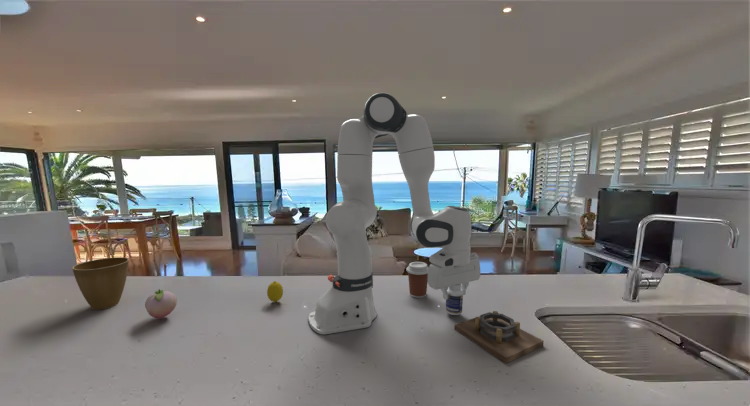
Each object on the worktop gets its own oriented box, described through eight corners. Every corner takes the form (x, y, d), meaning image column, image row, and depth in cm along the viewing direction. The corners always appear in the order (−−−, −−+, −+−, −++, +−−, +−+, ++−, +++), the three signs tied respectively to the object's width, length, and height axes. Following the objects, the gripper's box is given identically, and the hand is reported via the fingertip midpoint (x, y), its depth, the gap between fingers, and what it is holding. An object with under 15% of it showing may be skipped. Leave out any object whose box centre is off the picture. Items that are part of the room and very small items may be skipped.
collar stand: (506, 363, 72) (506, 344, 72) (454, 329, 88) (454, 313, 87) (543, 346, 79) (544, 328, 79) (489, 317, 95) (489, 302, 94)
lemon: (264, 304, 106) (263, 283, 105) (274, 298, 111) (273, 277, 110) (276, 306, 104) (275, 285, 103) (286, 300, 109) (285, 279, 108)
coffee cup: (433, 292, 115) (433, 263, 114) (424, 301, 107) (424, 269, 106) (412, 288, 120) (412, 259, 118) (402, 296, 112) (402, 265, 111)
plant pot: (75, 319, 96) (69, 272, 95) (79, 304, 107) (74, 262, 106) (133, 305, 106) (129, 263, 104) (132, 293, 117) (128, 254, 115)
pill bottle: (462, 316, 94) (464, 287, 93) (445, 314, 95) (446, 285, 94) (461, 308, 99) (462, 280, 98) (445, 307, 100) (445, 279, 99)
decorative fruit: (181, 318, 96) (178, 289, 95) (150, 328, 91) (147, 297, 89) (173, 309, 103) (171, 282, 102) (144, 317, 97) (141, 289, 96)
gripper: (471, 249, 102) (469, 287, 104) (425, 257, 93) (424, 299, 94) (486, 254, 97) (484, 294, 98) (438, 263, 87) (436, 307, 89)
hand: (454, 296), depth 96 cm, fingers closed on pill bottle, 5 cm apart
